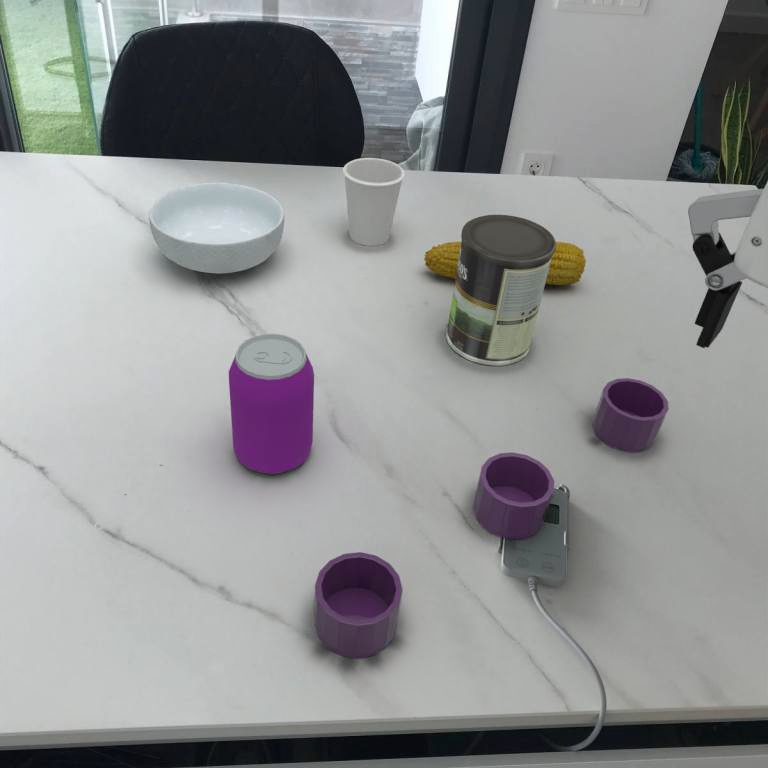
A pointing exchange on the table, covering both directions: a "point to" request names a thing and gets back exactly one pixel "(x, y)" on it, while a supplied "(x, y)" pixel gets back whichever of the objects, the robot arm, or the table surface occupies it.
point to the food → (561, 271)
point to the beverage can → (271, 403)
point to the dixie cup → (371, 198)
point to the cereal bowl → (217, 226)
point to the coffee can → (498, 288)
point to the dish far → (630, 414)
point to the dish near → (357, 604)
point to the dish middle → (513, 495)
